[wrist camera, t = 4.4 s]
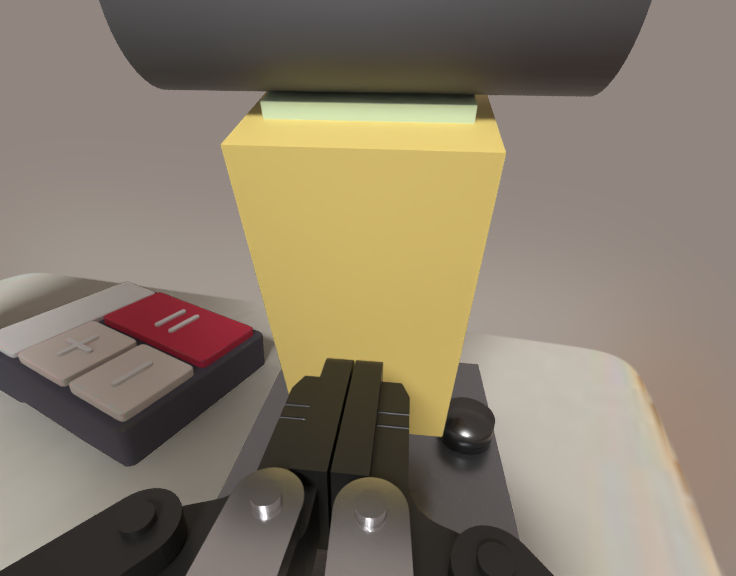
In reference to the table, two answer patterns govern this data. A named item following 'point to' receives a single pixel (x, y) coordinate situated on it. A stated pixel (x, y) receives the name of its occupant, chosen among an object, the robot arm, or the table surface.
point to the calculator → (126, 366)
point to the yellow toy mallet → (373, 154)
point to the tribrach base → (424, 461)
